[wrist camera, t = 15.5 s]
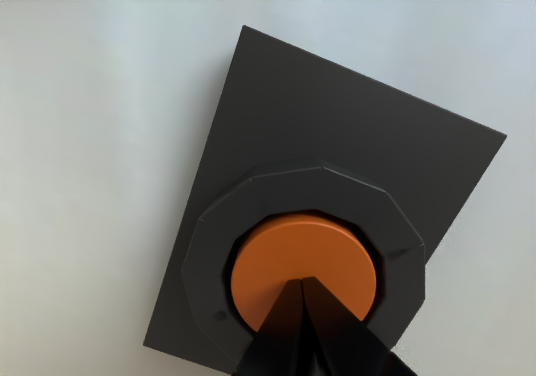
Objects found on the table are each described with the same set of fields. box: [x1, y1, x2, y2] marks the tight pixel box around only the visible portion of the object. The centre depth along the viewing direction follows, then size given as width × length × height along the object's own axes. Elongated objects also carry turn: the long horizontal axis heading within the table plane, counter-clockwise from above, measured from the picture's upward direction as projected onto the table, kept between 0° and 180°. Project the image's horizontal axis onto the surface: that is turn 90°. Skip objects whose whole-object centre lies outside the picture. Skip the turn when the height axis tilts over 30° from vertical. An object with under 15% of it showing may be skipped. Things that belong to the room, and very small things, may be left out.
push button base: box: [143, 25, 507, 376], centre depth 9 cm, size 13×9×4 cm
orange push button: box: [231, 209, 376, 332], centre depth 9 cm, size 4×4×2 cm
